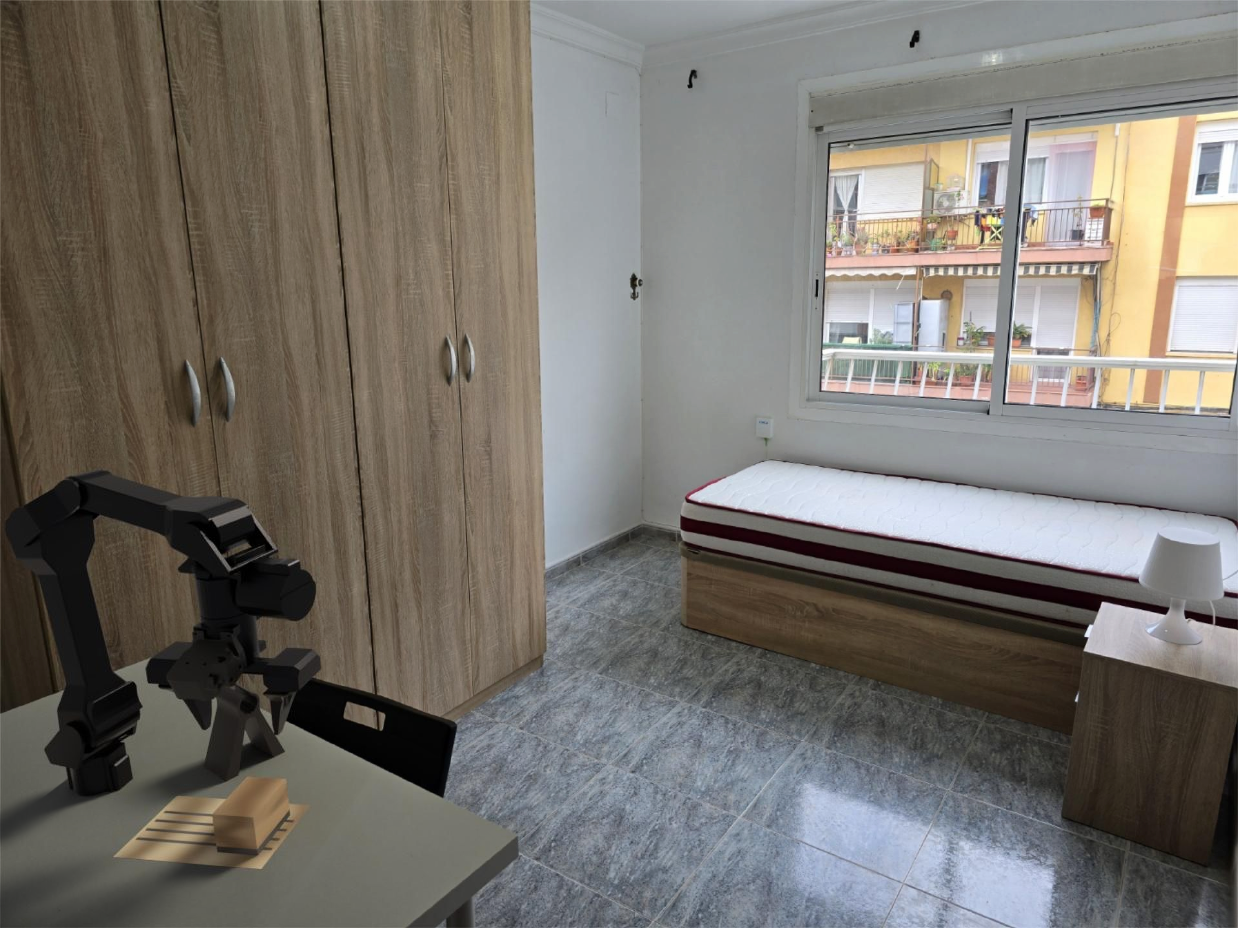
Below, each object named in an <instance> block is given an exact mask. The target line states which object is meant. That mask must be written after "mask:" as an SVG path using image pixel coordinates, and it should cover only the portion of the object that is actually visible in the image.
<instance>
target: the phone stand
mask: <svg viewBox="0 0 1238 928" xmlns="http://www.w3.org/2000/svg"><path fill="white" fill-rule="evenodd" d="M233 687H234V689H233ZM233 687H223V688H221V692H220V693H219V695H218V696H217V697H216V698H215V700H216V710H215V715H214V719H213V723H212V728H211V733H210V738H209V741H208V746H207V750H206V754H205V758H204V764H203V767H205V768H206V769H207V770H209V771H210V772H211V773H212V774H215V776H217V777H219V778H220V779H221V780H223V781H224V782H229V781H231V780H232V779H234V778H237V777H238V776H239V775H240V767H241V762H242V761H241V759H242V753H243V747H244V746H243V745H244V740H245V732H246V735H247V737H248V740H249V742H250V744H252V745H254V746H255V747H257V748H258V749H260V750H261V751H263V752H264V753H266V754H267V755H269V756H271V757H272V758H276V757H278V756H279V755H282V754H284V753H285V752H286V750H285V748H284V747H283V745H282V744H281V742H280V740H279V738H278V737H277V735H275V734H274V730H273V728H272V727H271V726H270V724H269V722H268V721H267V719H266V717H265V716H264V714H263V712H262V711H261V706H260V697H259V695H258V694H257V693H255V692H253V690H252V691H251V690H250V689H248V688H246V687H245V686H243V685H241V684H239V683H237V682H236V684H235V685H234V686H233Z"/></svg>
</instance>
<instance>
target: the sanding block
mask: <svg viewBox="0 0 1238 928" xmlns="http://www.w3.org/2000/svg"><path fill="white" fill-rule="evenodd" d="M287 783H288V782H287V779H286V778H273V777H260V776H246V778H244V780H243V781H242V782H241V783H240V784H239V785H237V787H236V788H235V789H234V790H233V791H232V792H231V793H230V794H229V796H227V798H225V799H226V800H225V801H224V802H223V803H222V804H221V805H220V806H219V807H218V808H217V809H216V810H215V811H214V812H213V814H212V818H213V826H214V833H215V840H216V847H217V852H222V853H234V854H246V855H259V854H260V852H261V851H262V850H263V849H264V847H265V846H266V845H267V844H268V842H269V841H270V840H271V839H272V837H273V836H274V835H275V834H276V832H277V831H278V830H279V829H280V827H281V826H282V825H283V824H284V822H285V821H286V820H287V819H288V817H289V816H290V808H289V804H290V802H289V801H290V800H289V792H288V786H287Z"/></svg>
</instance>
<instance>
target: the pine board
mask: <svg viewBox="0 0 1238 928" xmlns="http://www.w3.org/2000/svg"><path fill="white" fill-rule="evenodd" d="M226 799H227V798H213V797H202V796H201V797H200V796H199V797H198V796H187V795H177V796H175V797H174V798H173V799H172V800H171V801H169V803H168V804H167V805H166V806H165V807H163V809H162V810H161V811H159V813H157V814H156V815H155V816H154V817H153V818H152V819H150V821H149V822H148V823H147V824H146V825H145V826H144V827H143V828H141V830H140V831H138V833H136V834H135V835H134V836H133V837H132V838H131V839H130V840H129V841H128V842H127V843H126V844H125V845H124V846H123V847H122V848H121V849H119V851H118V852H116V853H115V854H114V856H113V858H118V859H119V858H120V859H131V860H132V859H133V860H142V861H143V860H146V861H157V862H168V863H180V864H193V865H194V864H195V865H205V866H217V867H218V866H219V867H230V868H242V869H243V868H244V869H253V870H262V868H264V867H265V865H266V864H267V862H268V861H269V860H270V859H271V857H272V856H273V855H274V854H275V852H276V850H277V849H278V848H279V847H280V845H281V844H282V843H283V842H284V841H285V839H286V838H287V837H288V835H289V834H290V833H291V831H292V830H293V829H294V827H296V825H297V823H298V822H299V821H301V819H302V817H304V814H305V813H306V812H307V811H308V809H309V808H310V807H311V805H310V804H297V803H289V808H290V816H289V817H288V819H287V820H286V821H285V822H284V824H283V825H282V826H281V827H280V829H279V830H278V831H277V832H276V834H275V835H274V836H273V837H272V839H271V840H270V841H269V842H268V844H267V845H266V846H265V847H264V849H263V850H262V851H261V852H260V854H259V855H246V854H234V853H222V852H217V847H216V840H215V833H214V826H213V818H212V814H213V812H214V811H215V810H216V809H217V808H218V807H219V806H220V805H221V804H222V803H223V802H224V801H225V800H226Z"/></svg>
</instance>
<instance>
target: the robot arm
mask: <svg viewBox="0 0 1238 928" xmlns="http://www.w3.org/2000/svg"><path fill="white" fill-rule="evenodd" d="M100 517H106V518H109V519H112V520H115V521H119V522H121V523H124V524H128V525H131V526H134V527H137V528H140V529H142V530H146V531H150V532H153V533H156V534H159V535H160V536H162V537H164V538H165V540H166V541H167V543H168V545H169V547H170V548H171V549H173V551H177V552H178V553H180V554H182V555H184V556H186V557H187V559H186V560H184V561H183V562H182V563H181V564H180V565H179V566H178V567H177V571H178V572H179V573H180V574H186V575H187V574H188V575H193V577H194V584H195V592H196V599H197V605H198V606H197V607H198V614H199V621H200V622H198V623H197V624H195V625H194V626H193V627H192V628H193V631H192V632H191V635H192V641H177V640H176V641H174V642H173V643H171V644H170V645H168V646H167V647H166V648H163V649H162V650H160V651H159V652H157V653H155V654H154V655H153V656H152V657H150V658H149V660H148V661H147V663H146V665H145V668H144V669H145V674H146V681H147V683H148V684H151V685H157V687H158V688H159V689H161V690H165V691H168V692H172V693H174V695H175V697H176V698H177V699H178V700H181V701H183V702H184V703H185V705H186V707H187V708H188V711H190V712H191V714H192V716H193V718H194V719H195V720H196V722H197V724H198V726H199V727H200V728H201V730H202V731H207V730H208V729H209V728H211V725H212V718H213V717H212V716H213V700H214V699H216V697H217V696H218V695H219V693H220V692H221V688H223V687H230V688H233V687H235V686H234V685H235V684H236V683H237V682H238V681H239V679H240V677H241V676H242V675H243V674H244V675H256V676H257V675H260V676H262V681H263V682H262V683H263V685H264V686H265V687H266V690H265V691H264V692H263V693H262V695H263V696H264V697H265V698H267V699H268V700H269V705H270V716H271V717H270V718H271V723H272V724H271V726H272V731H273V732H274V734H275V736H280V734H281V733H282V732H283V730H284V728H285V724H286V722H287V718H288V715H289V712H290V710H291V707H292V704H293V701H294V698H295V696H296V694H297V692H298V691H301V689H302V688H303V687H304V686H306V684H308V683H309V681H310V680H312V678H314V676H316V675H317V674H318V673H319V672H320V671H321V670H322V665H321V664H322V663H321V655H320V654H319V652H318V651H317V650H315V649H314V648H303V647H302V648H301V647H285V648H284V649H283V650H282V651H281V652H280V653H278V654H277V655H276V656H275V657H261V653H262V652H264V651H265V650H266V649H267V644H266V642H267V640H266V639H264V640H261V639H259V631H258V623H257V621H259V620H260V619H261V618H266V619H267V618H268V619H274V620H282V621H289V622H299V621H301V620H303V619H304V618H306V617H307V616H308V614H309V613H310V611H311V610H312V607H313V606H314V603H315V600H316V596H317V583H316V581H315V580H314V579H313V576H312V575H311V573H310V572H309V571H308V570H306V569H302V567H301V566H302V564H301V559H299V558H293V557H292V558H291V557H289V558H276V557H273V556H276V555H277V554H278V553H279V549H278V548H277V546H276V544H275V543H274V542H273V539H272V538H271V536H269V534H268V533H267V532H266V531H265V529H264V528H263V527H262V525H261V524H260V523H259V521H258V519H257V518H256V517H255V515H254V514H253V513H252V511H251V510H250V507H249V504H247V503H246V502H245V501H243V500H241V499H239V498H233V497H226V496H215V495H214V496H213V495H212V496H193V497H192V496H183V495H179V494H177V493H173V492H169V491H167V490H163V489H160V488H157V487H153V486H151V485H150V486H149V485H146V484H143V483H140V482H137V481H133V480H130V479H128V478H127V479H126V478H123V477H120V476H117V475H114V473H112V472H111V471H108V470H105V469H104V470H103V469H97V468H96V469H94V470H93V469H92V470H88V471H84V472H81V473H76V474H72V475H69V476H66V477H65V478H64V479H63V480H61V481H59V482H58V483H57V484H56V485H55V486H54V487H53V488H51V489H49V490H48V491H47V492H44V493H43V494H41V495H40V496H38V497H35V498H34V499H32V500H31V501H29V502H27V503H26V504H24V505H22V506H20V507H16V508H14V509H13V510H12V511H11V512H10V514H9V515H8V518H6V519H5V522H4V524H5V525H4V532H5V537H6V538H7V540H8V541H9V543H10V546H11V548H12V551H13V554H14V556H15V558H16V560H18V561H19V562H20V563H21V564H22V565H24V566H25V567H26V568H28V569H29V570H30V571H31V572H33V573H34V574H35V575H36V576H37V578H38V581H39V584H40V589H41V594H42V596H43V601H44V604H45V608H46V612H47V615H48V619H49V623H50V627H51V631H52V634H53V638H54V642H55V646H56V650H57V652H58V653H57V654H58V657H59V661H60V665H61V668H62V673H63V676H64V681H65V686H64V690H63V692H62V695H61V697H60V700H59V702H58V706H57V709H56V712H57V713H56V714H57V720H58V722H57V723H58V731H57V733H56V734H55V735H53V737H52V739H51V740H50V741H49V742H48V743H47V744H46V746H45V747H44V748H43V750H44V753H45V755H46V757H47V760H48V762H49V764H50V765H55V766H59V767H63V768H64V767H65V771H66V775H67V776H66V777H67V781H68V787H69V788H68V789H69V790H72V791H74V794H75V795H77V796H79V797H94V796H99V795H102V794H104V793H113V792H118V791H121V790H122V789H123V788H125V786H127V784H129V783H130V782H131V781H132V780H134V777H133V772H132V770H133V769H132V765H131V760H130V759H131V757H130V755H129V754H127V749H126V743H125V742H124V741H125V740H126V739H127V738H129V737H131V736H134V735H135V734H136V732H137V726H138V722H139V721H140V719H141V709H142V708H143V707H144V706H143V704H142V702H141V701H140V698H139V694H138V686H137V685H138V684H136V682H135V681H133V680H129V681H126V680H125V679H124V678H123V677H121V676H120V675H119V674H117V673H116V672H115V671H114V669H113V666H112V663H111V659H110V654H109V650H108V646H107V642H106V639H105V635H104V634H105V633H104V630H103V626H102V622H101V618H100V613H99V610H98V606H97V602H96V598H95V597H96V596H95V594H94V590H93V586H92V582H91V578H90V574H89V573H90V572H89V569H88V563H89V560H90V557H91V554H92V551H93V549H94V546H95V543H96V532H95V531H96V530H95V522H96V521H97V520H98V519H99V518H100ZM246 545H248V546H249V547H247V548H245V549H243V550H241V551H238V552H236V553H234V554H231V555H228V556H224V555H225V554H227V553H230V552H233V551H234V550H237V549H239V548H242V547H244V546H246Z"/></svg>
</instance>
